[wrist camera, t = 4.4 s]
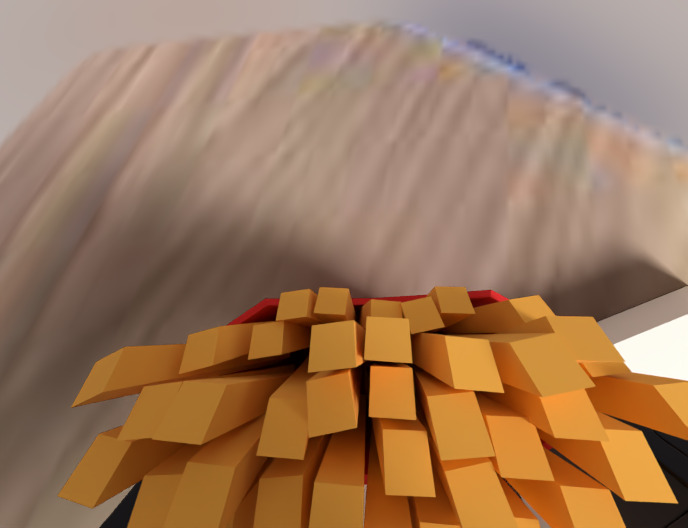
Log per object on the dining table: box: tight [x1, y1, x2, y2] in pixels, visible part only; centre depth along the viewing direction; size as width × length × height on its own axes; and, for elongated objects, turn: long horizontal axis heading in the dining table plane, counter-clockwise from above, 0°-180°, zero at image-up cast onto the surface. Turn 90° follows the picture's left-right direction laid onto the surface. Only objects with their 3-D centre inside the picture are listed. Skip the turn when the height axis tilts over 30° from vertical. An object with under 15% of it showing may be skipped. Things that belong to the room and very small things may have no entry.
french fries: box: [58, 287, 688, 528], centre depth 10 cm, size 9×4×13 cm, turn 92°
